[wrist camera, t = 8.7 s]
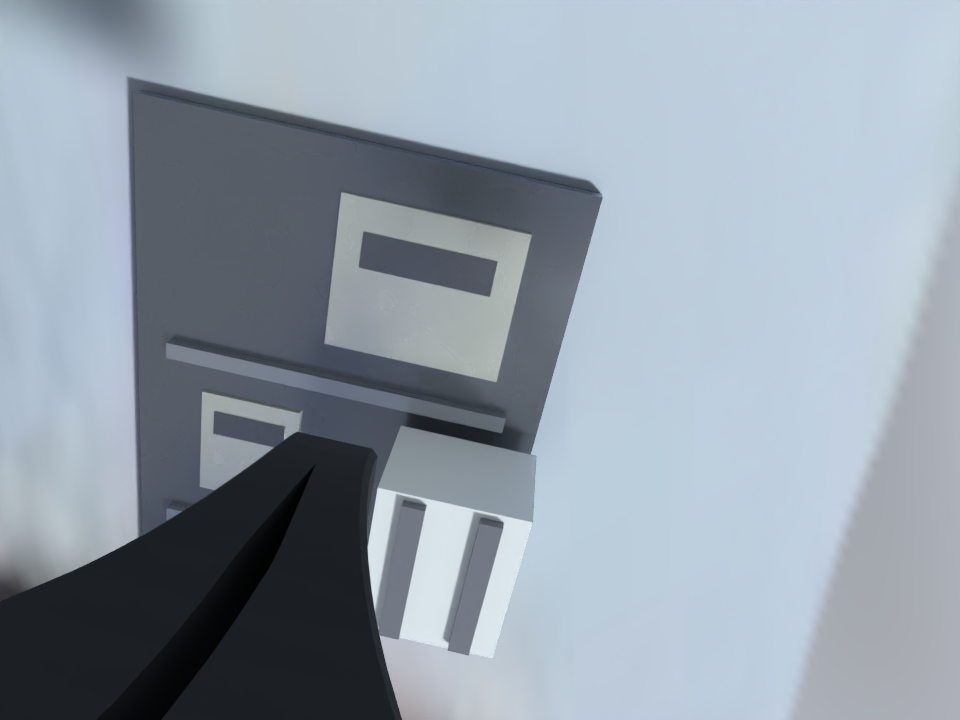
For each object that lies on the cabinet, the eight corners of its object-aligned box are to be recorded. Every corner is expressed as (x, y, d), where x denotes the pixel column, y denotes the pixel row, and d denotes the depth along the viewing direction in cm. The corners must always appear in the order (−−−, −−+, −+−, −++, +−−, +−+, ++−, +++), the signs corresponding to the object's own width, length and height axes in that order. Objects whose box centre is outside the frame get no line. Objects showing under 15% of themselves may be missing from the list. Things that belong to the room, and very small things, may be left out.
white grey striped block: (500, 582, 23) (491, 665, 20) (378, 555, 23) (352, 634, 20) (536, 455, 21) (532, 529, 18) (401, 425, 21) (375, 493, 18)
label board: (479, 634, 26) (476, 649, 25) (148, 559, 26) (138, 573, 25) (601, 193, 18) (602, 200, 18) (140, 89, 18) (126, 93, 18)
